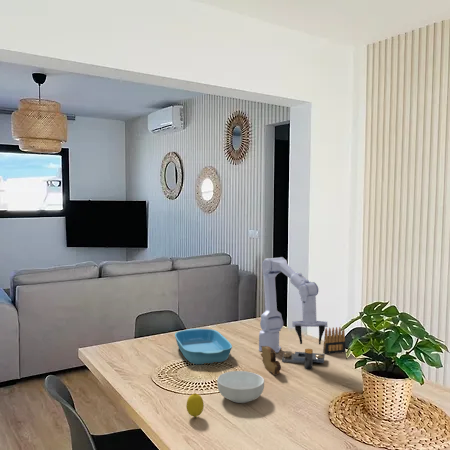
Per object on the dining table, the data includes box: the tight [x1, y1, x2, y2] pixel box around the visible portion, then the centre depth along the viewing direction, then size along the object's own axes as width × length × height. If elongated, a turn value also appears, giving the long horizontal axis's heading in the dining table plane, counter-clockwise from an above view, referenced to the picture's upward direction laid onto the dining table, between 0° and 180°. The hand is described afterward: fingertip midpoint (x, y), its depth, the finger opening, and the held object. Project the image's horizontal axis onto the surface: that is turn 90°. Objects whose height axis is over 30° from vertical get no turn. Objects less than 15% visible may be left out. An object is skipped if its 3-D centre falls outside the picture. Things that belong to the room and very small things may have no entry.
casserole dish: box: [174, 327, 233, 365], centre depth 208 cm, size 37×22×7 cm, turn 18°
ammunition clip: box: [322, 326, 347, 355], centre depth 210 cm, size 11×2×12 cm, turn 105°
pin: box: [304, 348, 314, 371], centre depth 189 cm, size 3×3×8 cm
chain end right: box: [293, 351, 326, 365], centre depth 198 cm, size 13×8×3 cm, turn 75°
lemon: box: [185, 392, 204, 419], centre depth 146 cm, size 6×6×8 cm
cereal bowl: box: [216, 370, 265, 404], centre depth 160 cm, size 17×17×7 cm
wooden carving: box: [260, 346, 282, 376], centre depth 187 cm, size 16×5×10 cm, turn 21°
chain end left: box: [281, 350, 305, 365], centre depth 200 cm, size 13×8×3 cm, turn 75°
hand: (310, 343), depth 190 cm, fingers open, 7 cm apart
